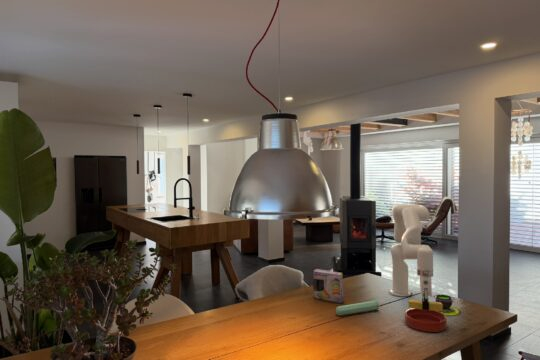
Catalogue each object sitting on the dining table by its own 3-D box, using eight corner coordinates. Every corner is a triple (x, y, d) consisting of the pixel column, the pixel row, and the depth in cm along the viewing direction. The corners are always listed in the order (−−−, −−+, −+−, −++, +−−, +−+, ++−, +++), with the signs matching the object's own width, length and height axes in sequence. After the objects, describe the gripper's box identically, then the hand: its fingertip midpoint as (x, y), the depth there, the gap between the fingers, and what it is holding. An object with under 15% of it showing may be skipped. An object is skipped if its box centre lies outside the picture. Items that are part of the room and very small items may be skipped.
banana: (408, 305, 196) (408, 299, 196) (441, 308, 191) (441, 302, 190) (408, 308, 191) (408, 302, 191) (443, 311, 186) (443, 305, 186)
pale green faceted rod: (337, 305, 202) (377, 299, 210) (333, 306, 207) (372, 300, 215) (340, 317, 200) (380, 310, 208) (335, 317, 205) (374, 310, 213)
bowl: (404, 315, 203) (404, 306, 203) (444, 319, 197) (444, 310, 196) (405, 330, 185) (405, 320, 184) (448, 335, 178) (448, 324, 178)
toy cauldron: (464, 312, 206) (464, 292, 206) (446, 317, 200) (446, 296, 199) (441, 303, 220) (441, 285, 219) (423, 308, 213) (423, 289, 213)
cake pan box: (312, 297, 233) (312, 269, 233) (316, 295, 237) (316, 268, 237) (340, 304, 221) (340, 274, 221) (344, 301, 225) (343, 272, 225)
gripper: (434, 277, 181) (434, 314, 181) (431, 268, 197) (432, 303, 197) (417, 276, 183) (418, 313, 184) (416, 267, 199) (416, 302, 199)
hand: (425, 307), depth 190 cm, fingers closed on banana, 3 cm apart
